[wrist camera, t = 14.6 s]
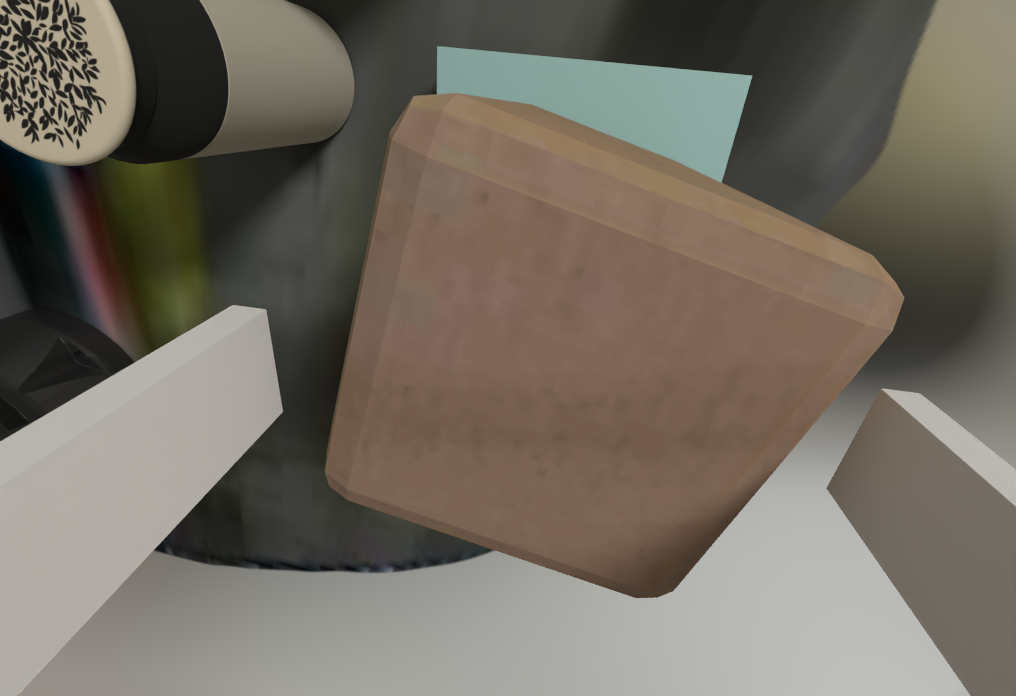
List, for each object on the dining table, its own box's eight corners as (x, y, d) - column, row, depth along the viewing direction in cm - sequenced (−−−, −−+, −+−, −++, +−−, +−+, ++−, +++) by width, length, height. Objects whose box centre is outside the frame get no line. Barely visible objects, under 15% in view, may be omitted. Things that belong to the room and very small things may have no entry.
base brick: (452, 293, 37) (433, 324, 32) (461, 57, 29) (437, 46, 24) (656, 320, 36) (671, 356, 31) (718, 82, 28) (752, 75, 23)
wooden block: (609, 321, 30) (667, 626, 12) (463, 267, 29) (302, 503, 12) (687, 165, 25) (962, 293, 8) (515, 97, 25) (380, 66, 7)
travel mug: (362, 24, 29) (115, -77, 13) (351, 156, 33) (147, 199, 17) (240, -12, 29) (-157, -158, 13) (242, 124, 33) (-64, 138, 17)
